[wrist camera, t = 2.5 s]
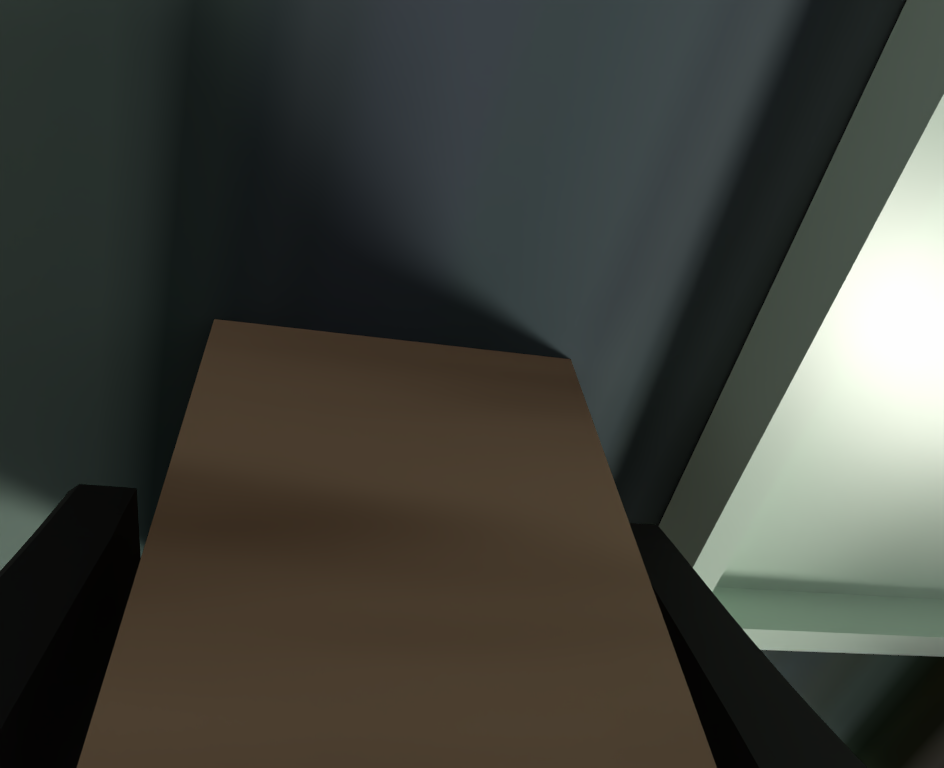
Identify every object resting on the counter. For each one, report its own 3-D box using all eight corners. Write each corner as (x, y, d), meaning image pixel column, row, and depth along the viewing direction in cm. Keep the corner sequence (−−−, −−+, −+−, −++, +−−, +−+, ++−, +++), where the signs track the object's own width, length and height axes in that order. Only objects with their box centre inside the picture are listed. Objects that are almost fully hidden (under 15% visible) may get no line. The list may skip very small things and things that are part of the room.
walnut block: (496, 583, 13) (570, 1045, 8) (210, 568, 12) (103, 1076, 7) (569, 358, 10) (740, 835, 6) (214, 317, 9) (52, 845, 5)
